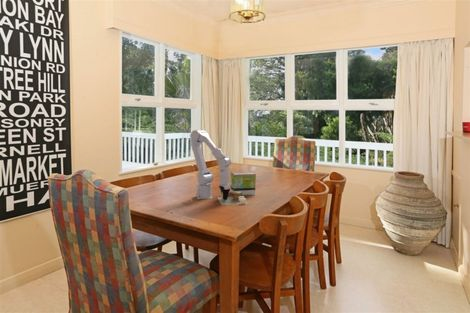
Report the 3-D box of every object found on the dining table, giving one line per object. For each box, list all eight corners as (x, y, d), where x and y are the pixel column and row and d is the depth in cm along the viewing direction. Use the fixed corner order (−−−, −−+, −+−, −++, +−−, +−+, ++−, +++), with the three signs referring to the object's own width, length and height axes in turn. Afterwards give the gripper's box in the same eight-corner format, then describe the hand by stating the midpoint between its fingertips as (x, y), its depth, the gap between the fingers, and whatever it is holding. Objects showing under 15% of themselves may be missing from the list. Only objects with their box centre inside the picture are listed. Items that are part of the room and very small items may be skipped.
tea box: (234, 196, 208) (234, 174, 206) (230, 193, 218) (230, 172, 216) (255, 195, 212) (255, 173, 210) (250, 191, 222) (251, 171, 220)
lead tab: (222, 200, 195) (222, 192, 195) (221, 199, 198) (221, 191, 198) (227, 200, 196) (227, 192, 195) (226, 199, 199) (226, 191, 198)
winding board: (221, 205, 186) (221, 196, 185) (217, 198, 203) (217, 189, 203) (247, 204, 189) (247, 195, 188) (241, 197, 206) (241, 188, 205)
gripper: (232, 178, 189) (232, 201, 190) (228, 174, 203) (228, 195, 205) (221, 179, 188) (221, 201, 189) (218, 174, 202) (218, 195, 203)
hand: (224, 198), depth 197 cm, fingers open, 7 cm apart
